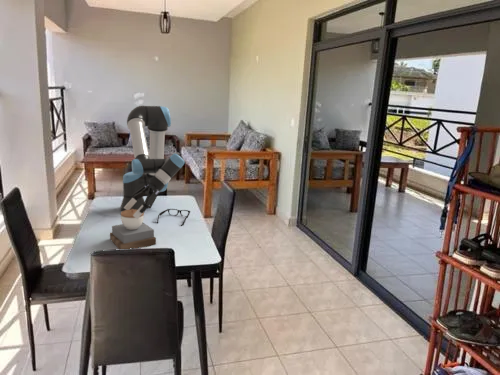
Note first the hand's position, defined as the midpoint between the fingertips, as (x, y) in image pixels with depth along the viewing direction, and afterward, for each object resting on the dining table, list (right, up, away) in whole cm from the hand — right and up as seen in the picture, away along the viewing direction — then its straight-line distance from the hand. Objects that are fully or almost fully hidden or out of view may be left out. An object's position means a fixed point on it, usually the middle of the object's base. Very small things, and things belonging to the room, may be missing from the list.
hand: (130, 213), depth 188 cm
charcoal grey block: (0, -11, +4) cm, 12 cm away
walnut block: (0, -15, +5) cm, 16 cm away
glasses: (+14, -7, +40) cm, 43 cm away
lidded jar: (0, -7, +2) cm, 8 cm away
